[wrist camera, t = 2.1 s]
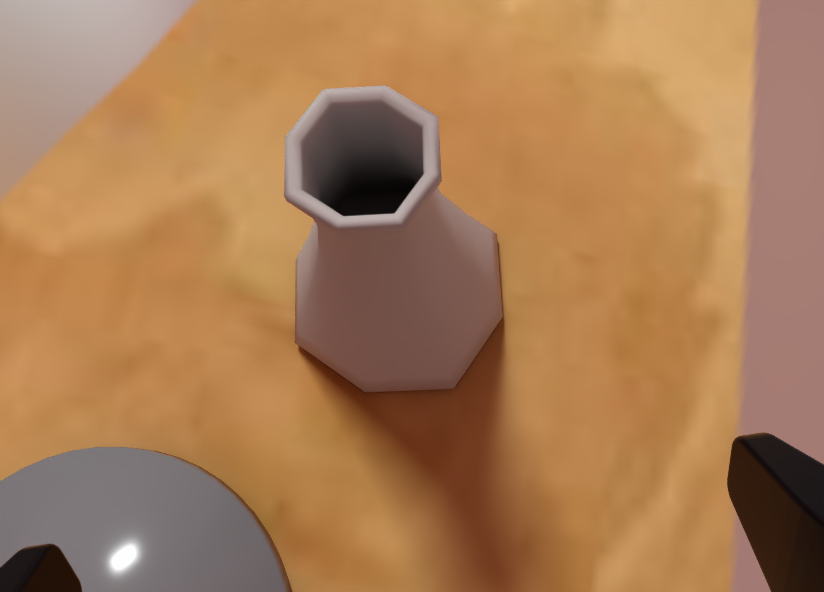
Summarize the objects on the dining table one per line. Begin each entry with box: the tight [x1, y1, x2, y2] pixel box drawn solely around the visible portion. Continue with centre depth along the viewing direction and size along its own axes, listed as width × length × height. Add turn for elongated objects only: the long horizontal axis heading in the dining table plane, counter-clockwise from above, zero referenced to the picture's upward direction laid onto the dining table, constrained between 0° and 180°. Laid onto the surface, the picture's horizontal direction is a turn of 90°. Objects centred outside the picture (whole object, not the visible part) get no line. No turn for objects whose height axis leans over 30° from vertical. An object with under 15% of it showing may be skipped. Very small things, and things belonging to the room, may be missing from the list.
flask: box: [284, 85, 503, 392], centre depth 18 cm, size 7×7×10 cm
